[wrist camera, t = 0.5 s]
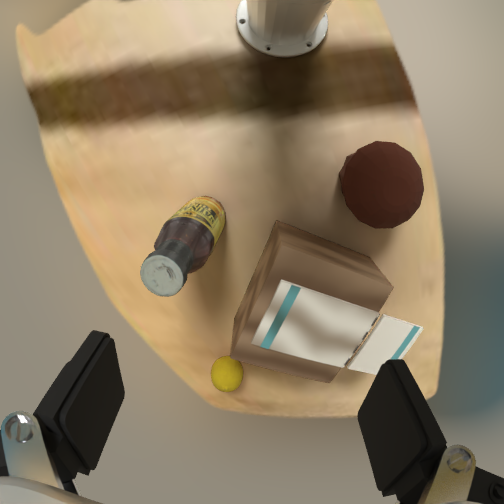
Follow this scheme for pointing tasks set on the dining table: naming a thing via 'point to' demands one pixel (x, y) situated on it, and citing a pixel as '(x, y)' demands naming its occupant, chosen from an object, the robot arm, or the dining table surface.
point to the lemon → (226, 374)
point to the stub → (385, 344)
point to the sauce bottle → (183, 245)
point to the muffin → (382, 184)
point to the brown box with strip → (307, 305)
